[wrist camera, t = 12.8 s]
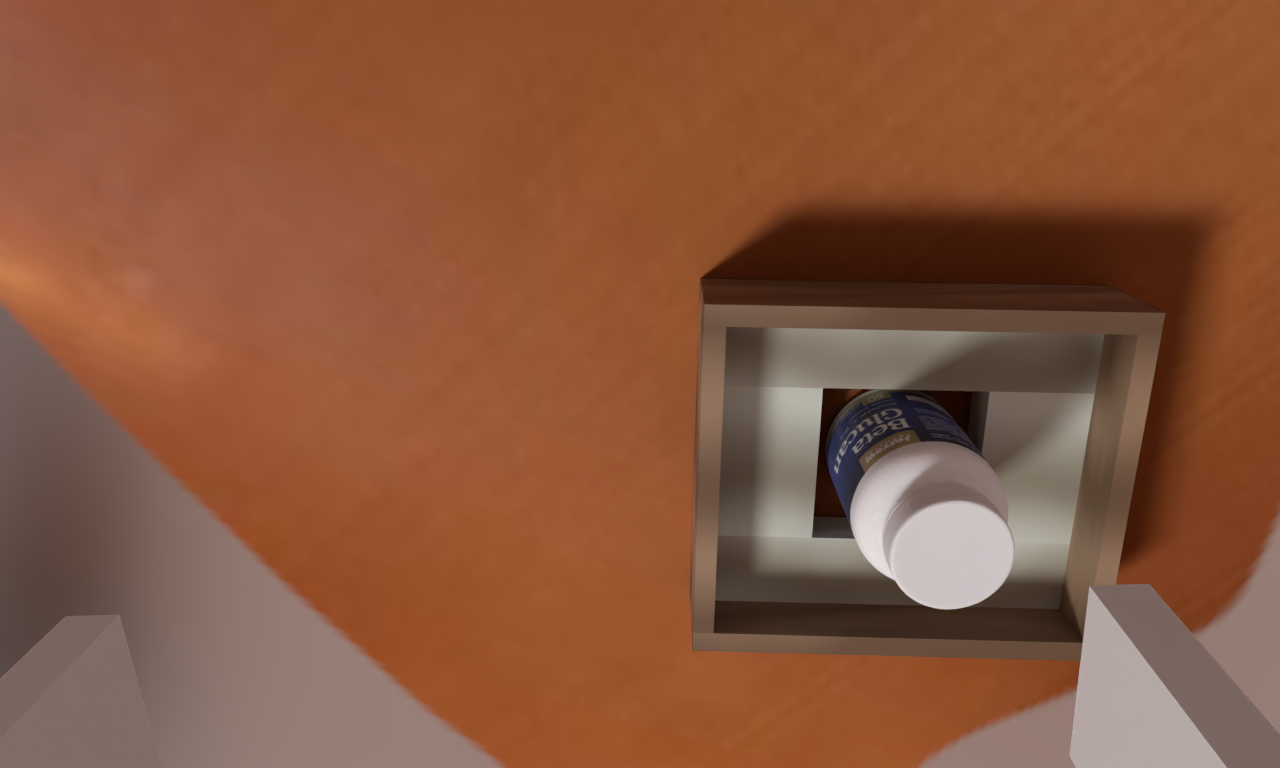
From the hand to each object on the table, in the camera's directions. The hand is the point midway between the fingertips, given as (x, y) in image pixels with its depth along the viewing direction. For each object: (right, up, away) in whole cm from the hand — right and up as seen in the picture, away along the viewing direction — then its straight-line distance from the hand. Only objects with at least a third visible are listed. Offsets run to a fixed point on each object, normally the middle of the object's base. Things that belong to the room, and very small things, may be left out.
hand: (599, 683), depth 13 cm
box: (+11, +1, +27) cm, 29 cm away
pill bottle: (+11, +2, +27) cm, 29 cm away
